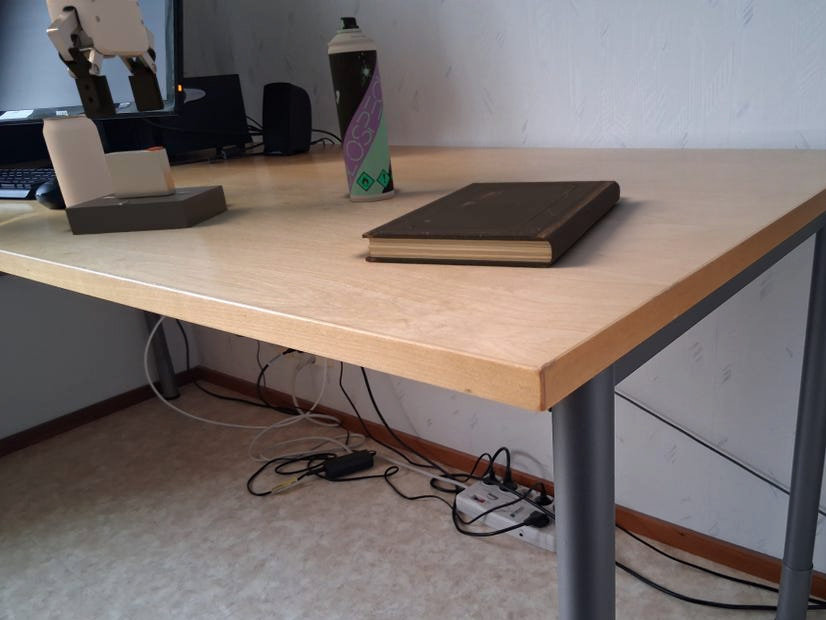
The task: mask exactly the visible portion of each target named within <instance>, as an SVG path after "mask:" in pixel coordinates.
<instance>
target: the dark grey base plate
mask: <svg viewBox="0 0 826 620" xmlns="http://www.w3.org/2000/svg"><path fill="white" fill-rule="evenodd" d="M175 189H176V193H173V194H171V195H165V196H150V197H135V198H120V199H117V197H116V194H115V193H113V194H109V195H106V196H103V197H100V198H96V199H93V200H90V201H87V202H83V203H80V204H77V205H74V206H70V207H65V208H64V210H65V215H66V218H67V220H68V224H69V227H70V231H71V233H72V235H73V236H74V235H90V234H91V235H92V234H106V233H122V232H123V233H126V232H138V231H139V232H140V231H141V232H142V231H157V230H174V229H188V228H191V227H193V226H196V225H198V224H200V223H203V222H204V221H206V220H208V219H210V218H213V217H215V216H217V215H219V214H221V213H223V212H226V211H227V210H228V206H227V205H228V204H227V201H226V196H225V192H224V187H223V185H222V184H218V185H205V186H204V185H203V186H189V187H187V186H186V187H175Z"/></svg>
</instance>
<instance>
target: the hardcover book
mask: <svg viewBox="0 0 826 620" xmlns="http://www.w3.org/2000/svg"><path fill="white" fill-rule="evenodd" d="M620 199H621V186H620V183H618V182H617V181H616V180H569V181H568V180H567V181H566V180H564V181H563V180H562V181H561V180H559V181H556V180H555V181H501V182H500V181H498V182H497V181H496V182H495V181H493V182H472V183H470V184H467V185H466V186H465V185H464V186H463V187H461V188H459V189H456V190H455V191H452V192H451V193H448V194H446V195H443V196H442V197H439V198H437V199H435V200H433V201H431V202H428V203H427V204H424V205H422V206H420V207H418V208H416V209H413V210H412V211H409V212H407V213H405V214H402V215H401V216H398V217H396V218H394V219H392V220H390V221H388V222H386V223H383V224H381V225H378V226H377V227H375V228H372V229H370V230H368V231H366V232H364V233H362V234H361V238H362V239H368V243H369V244H368V247H367V249H368V250H369V253H370V255H369V256H366V257H365V258H364V259H365V262H368V263H370V262H371V263H395V264H396V263H398V264H399V263H400V264H427V265H429V264H431V265H454V266H455V265H458V266H459V265H461V266H491V267H516V268H517V267H519V268H548V267H550V266H551V265H552V264H553V263H554V262H555V261H557V260H558V259H559V258H560V257H561V256H562V255H563V253H565V252H566V251H567V250H568V249H569V248H570V247H571V246H573V244H574V243H576V242H577V241H578V240H579V239H580V238H581V237H582V236H583V235H584V234H585V233H586V232H587V231H588V230H589V229H590V228H592V226H593V225H594V224H596V223H597V221H599V220H600V219H601V218H602V217H603V216H604V215H605V214H606V213H607V212H609V210H610V209H612V207H613V206H615V205H616V204H617V203H618V202H619V200H620Z"/></svg>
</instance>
